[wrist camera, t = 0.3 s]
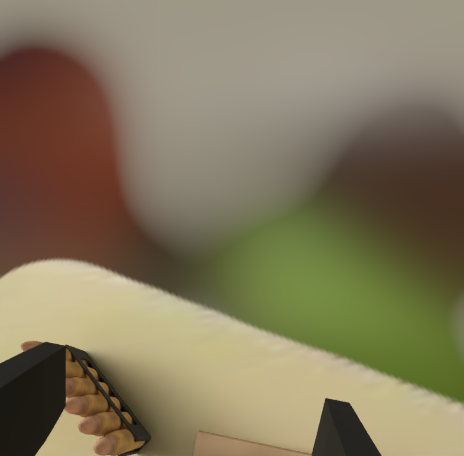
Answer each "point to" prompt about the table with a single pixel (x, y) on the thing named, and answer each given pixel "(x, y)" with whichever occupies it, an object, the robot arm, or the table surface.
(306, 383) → the table surface
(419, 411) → the table surface
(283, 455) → the board
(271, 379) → the table surface
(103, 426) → the ammunition clip
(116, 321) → the table surface
